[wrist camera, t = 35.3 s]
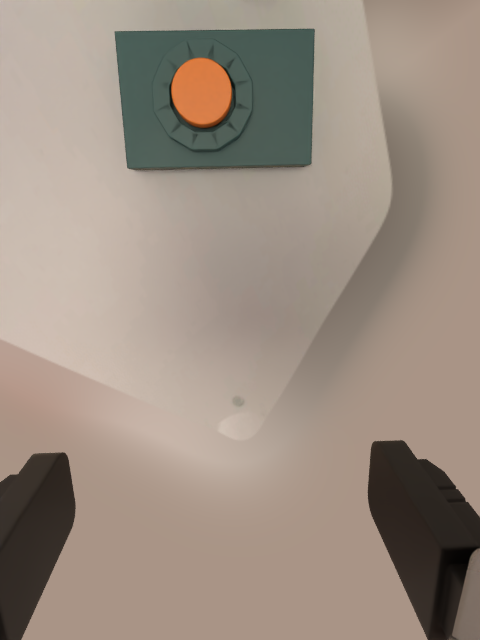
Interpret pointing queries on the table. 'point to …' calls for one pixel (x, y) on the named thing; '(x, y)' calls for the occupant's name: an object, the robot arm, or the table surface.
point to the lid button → (201, 92)
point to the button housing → (246, 105)
